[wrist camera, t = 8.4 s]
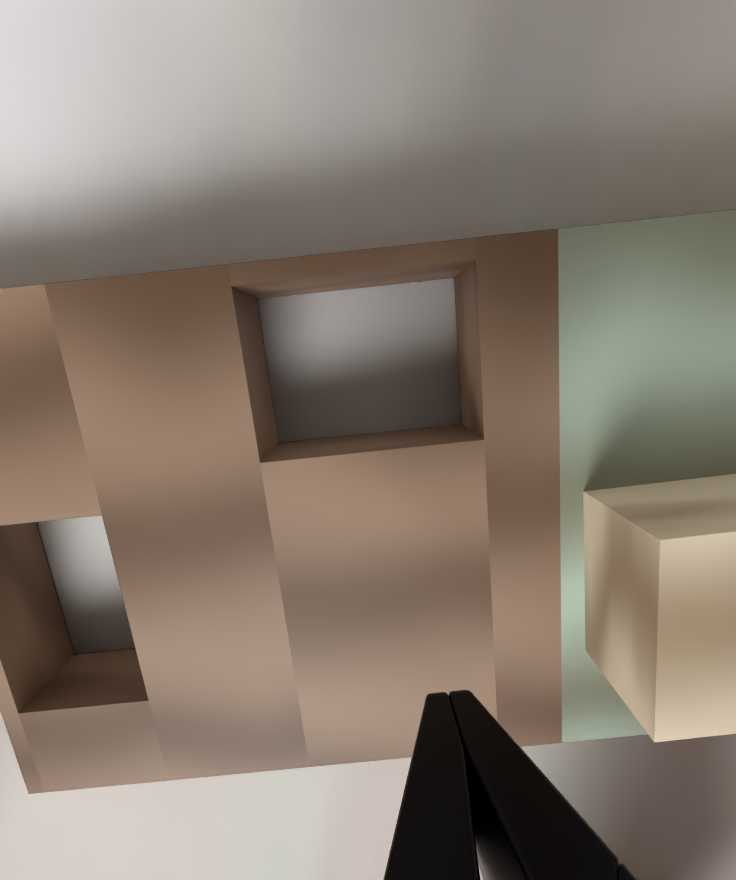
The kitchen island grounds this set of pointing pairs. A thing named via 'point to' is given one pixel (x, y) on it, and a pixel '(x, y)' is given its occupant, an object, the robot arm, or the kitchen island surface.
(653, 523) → the block
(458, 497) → the board
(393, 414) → the kitchen island surface
